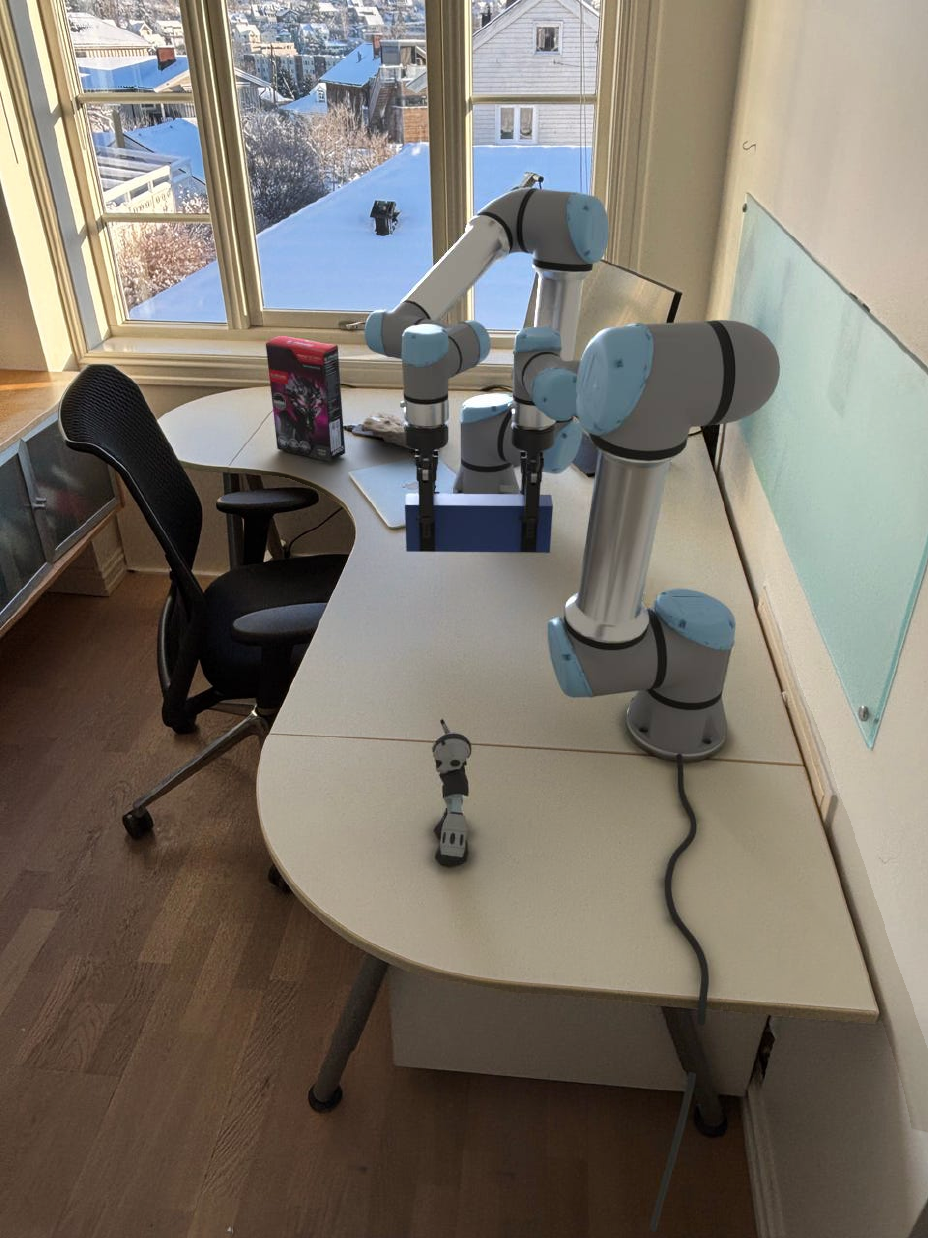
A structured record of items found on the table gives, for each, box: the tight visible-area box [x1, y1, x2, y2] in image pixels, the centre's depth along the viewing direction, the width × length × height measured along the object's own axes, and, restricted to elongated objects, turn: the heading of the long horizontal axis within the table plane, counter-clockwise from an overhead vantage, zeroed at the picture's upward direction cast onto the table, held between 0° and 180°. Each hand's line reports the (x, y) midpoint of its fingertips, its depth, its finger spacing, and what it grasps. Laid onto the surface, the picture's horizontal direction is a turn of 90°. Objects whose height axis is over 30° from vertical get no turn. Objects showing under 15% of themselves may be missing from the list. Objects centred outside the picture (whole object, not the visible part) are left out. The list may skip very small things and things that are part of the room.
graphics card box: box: [265, 335, 346, 462], centre depth 222 cm, size 17×7×27 cm, turn 62°
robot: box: [431, 718, 473, 868], centre depth 118 cm, size 20×5×20 cm, turn 3°
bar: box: [404, 493, 554, 554], centre depth 166 cm, size 26×4×9 cm, turn 90°
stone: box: [360, 412, 414, 450], centre depth 233 cm, size 21×15×6 cm
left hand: (428, 540), depth 168 cm, fingers open, 7 cm apart
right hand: (527, 543), depth 168 cm, fingers closed on bar, 4 cm apart
